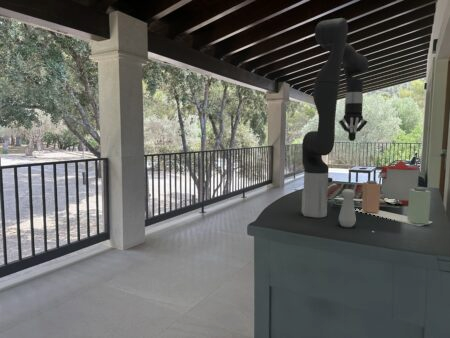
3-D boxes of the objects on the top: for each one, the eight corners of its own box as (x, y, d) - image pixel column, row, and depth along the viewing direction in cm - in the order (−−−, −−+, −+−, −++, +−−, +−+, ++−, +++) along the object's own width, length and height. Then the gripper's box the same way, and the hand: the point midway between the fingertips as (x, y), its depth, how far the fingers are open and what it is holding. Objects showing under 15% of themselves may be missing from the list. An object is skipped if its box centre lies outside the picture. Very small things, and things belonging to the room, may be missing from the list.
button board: (352, 210, 145) (352, 209, 145) (365, 208, 150) (365, 207, 150) (419, 226, 122) (419, 225, 122) (432, 222, 126) (432, 221, 126)
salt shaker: (356, 228, 118) (358, 191, 117) (339, 227, 119) (341, 190, 118) (354, 224, 124) (355, 188, 122) (337, 223, 125) (339, 187, 123)
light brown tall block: (366, 212, 139) (368, 182, 137) (361, 209, 144) (363, 180, 142) (378, 212, 139) (380, 182, 137) (373, 209, 144) (375, 180, 142)
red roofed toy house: (372, 198, 171) (374, 158, 168) (409, 200, 168) (412, 159, 166) (382, 205, 155) (384, 161, 153) (423, 207, 153) (426, 162, 151)
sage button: (414, 223, 123) (416, 189, 121) (407, 219, 127) (409, 187, 126) (428, 223, 122) (431, 189, 121) (421, 219, 127) (423, 187, 126)
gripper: (341, 102, 153) (339, 141, 155) (371, 102, 153) (369, 141, 155) (336, 103, 160) (335, 140, 162) (365, 103, 160) (363, 140, 162)
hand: (351, 140), depth 159 cm, fingers closed
